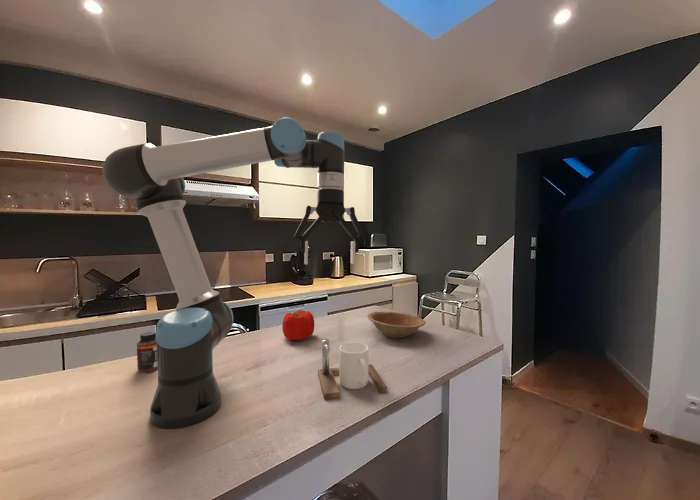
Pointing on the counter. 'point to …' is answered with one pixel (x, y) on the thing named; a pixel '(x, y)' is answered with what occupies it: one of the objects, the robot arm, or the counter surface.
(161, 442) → the counter surface
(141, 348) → the supplement bottle
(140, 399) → the counter surface
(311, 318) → the red lobed round piece
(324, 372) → the hook post
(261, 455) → the counter surface
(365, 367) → the mug
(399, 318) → the bowl
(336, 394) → the brown wooden u-shaped piece
